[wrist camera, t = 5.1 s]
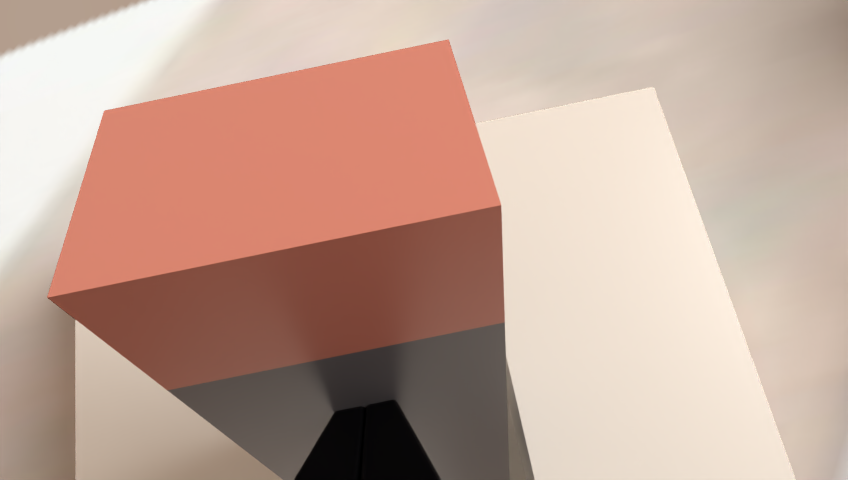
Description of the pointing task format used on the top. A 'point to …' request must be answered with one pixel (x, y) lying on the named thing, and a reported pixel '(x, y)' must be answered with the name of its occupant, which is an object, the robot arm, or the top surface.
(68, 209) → the top surface
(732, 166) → the top surface
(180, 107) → the lever
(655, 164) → the box
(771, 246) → the top surface
